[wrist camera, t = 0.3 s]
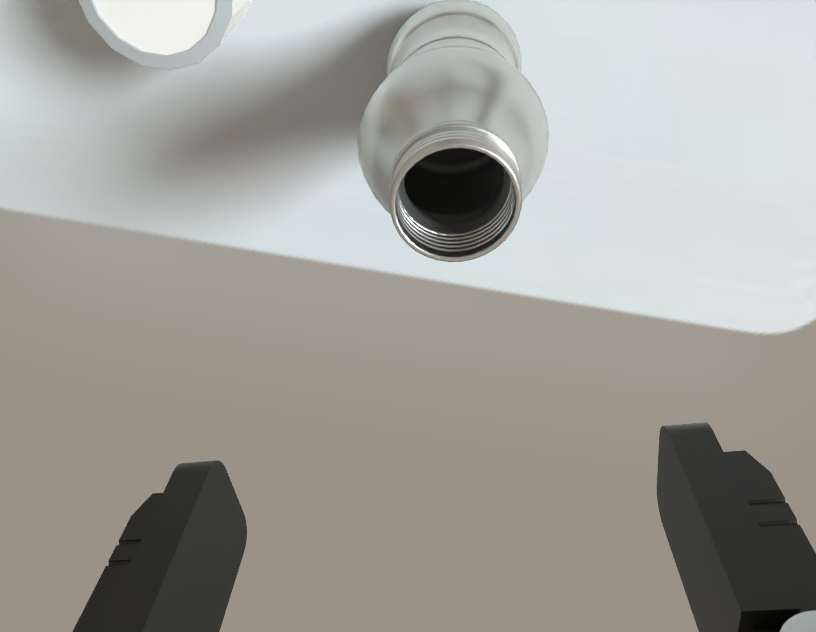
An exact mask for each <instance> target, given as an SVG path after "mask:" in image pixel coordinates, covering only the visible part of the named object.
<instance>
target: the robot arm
mask: <svg viewBox="0 0 816 632" xmlns="http://www.w3.org/2000/svg"><path fill="white" fill-rule="evenodd" d="M657 499H658V506H659V512H660V517H661V520H662V524H663V527H664V530H665V533H666V536H667V539H668V542H669V545H670V548H671V551H672V553H673V557H674V559H675V562H676V565H677V568H678V571H679V574H680V577H681V580H682V583H683V586H684V589H685V592H686V595H687V597H688V601H689V604H690V606H691V610H692V613H693V615H694V618H695V621H696V624H697V627H698V630H699V632H816V553H815V551H814V550H813V548H812V546H811V544H810V542H809V541H808V539H807V537H806V535H805V533H804V532H803V530H802V528H801V526H800V525H798V524H797V520H796V517H795V515H794V514H793V512H792V510H791V508H790V507H789V505H788V503H785V497H784V496H783V494H782V492H781V490H780V489H779V487H778V485H777V483H776V481H775V480H774V478H773V476H772V474H771V473H770V471H769V470H767V469H766V468H765V467H764V466H762V465H761V464H760V463H759V462H758V461H757V460H755V459H754V458H753V457H752V456H751V455H749V454H748V453H747V452H746V451H732V452H723V450H722V448H721V446H720V444H719V442H718V440H717V438H716V436H715V434H714V432H713V430H712V428H711V427H710V425H709V424H708V423H694V424H682V425H671V426H662V427H661V429H660V437H659V456H658V475H657ZM246 538H247V527H246V520H245V516H244V513H243V510H242V508H241V505H240V503H239V500H238V498H237V496H236V493H235V491H234V488H233V486H232V483H231V481H230V478H229V476H228V473H227V471H226V468H225V466H224V465H223V463H221V462H220V461H206V462H194V463H183V464H179V465H178V466H177V467H176V468H175V470H174V471H173V473H172V476H171V478H170V480H169V482H168V484H167V486H166V488H165V491H164V493H155V494H152V495H151V496H150V497H149V498H148V499H147V500H146V501H145V502H144V503H143V504H142V505H141V507H139V509H138V510H137V511H136V512H135V513H134V514H133V515H132V516H131V518H130V520H129V522H128V524H127V526H126V528H125V530H124V532H123V534H122V535H121V538H120V540H119V545H117V546H116V547H115V550H114V551H113V553H112V555H111V557H110V559H109V565H108V566H106V567H105V569H104V571H103V573H102V575H101V577H100V579H99V581H98V583H97V585H96V587H95V589H94V591H93V593H92V595H91V597H90V599H89V601H88V602H87V604H86V607H85V609H84V610H83V613H82V614H81V616H80V618H79V620H78V622H77V624H76V626H75V628H74V630H73V632H219V631H220V628H221V624H222V621H223V618H224V615H225V611H226V608H227V605H228V601H229V598H230V595H231V592H232V589H233V586H234V582H235V579H236V576H237V572H238V569H239V566H240V563H241V560H242V556H243V553H244V550H245V546H246Z"/></svg>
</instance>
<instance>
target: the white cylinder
mask: <svg viewBox="0 0 816 632" xmlns="http://www.w3.org/2000/svg"><path fill="white" fill-rule="evenodd" d="M78 1H79V3H80V5H81V7H82V10H83V12H84V14H85V16H86V19H87V21H88V22H89V24H90V25H91V26H92V27H93V28H94V29H95V30H96V31H97V33H98V34H99V35H100V36H101V37H102V38H103V39H104V41H105V42H106V43H107V44H108V45H109V46H110V47H111V48H112V49H113V50H115V51H117V52H118V53H120V54H122V55H123V56H125V57H127V58H129V59H130V60H132V61H134V62H135V63H137V64H139V65H141V66H147V67H152V68H158V69H164V70H170V71H171V70H175V69H179V68H183V67H187V66H191V65H194V64H198V63H199V62H200V61H202V60H203V59H204V58H205V57H206V56H207V55H209V54H210V53H211V52H212V51H213V50H214V49H216V48H217V47H218V46H219V45H220V44H221V43H222V42H223V40H224V39H225V38H226V37H227V36H228V35H229V33H230V32H231V31H232V30H233V29H234V28H235V26H236V25H237V24H238V23H239V22H240V21H241V20H242V18H243V17H244V16H245V15H246V14H247V13H248V11H249V9H250V6H251V4H252V2H253V0H78Z"/></svg>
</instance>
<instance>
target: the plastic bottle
mask: <svg viewBox="0 0 816 632" xmlns="http://www.w3.org/2000/svg"><path fill="white" fill-rule="evenodd" d="M521 62H522V60H521V53H520V47H519V44H518V41H517V39H516V36H515V34H514V32H513V30H512V29H511V27H510V26H509V24H508V23H507V22H506V21H505V20H504V19H503V18H502V17H501V16H500V15H499V13H497V12H496V11H494V10H493V9H491V8H489V7H488V6H486V5H483V4H481V3H478V2H476V1H471V0H443V1H440V2H436V3H432V4H430V5H428V6H426V7H424V8H422V9H420V10H419V11H418V12H416V13H415V14H414V15H413V16H411V17H410V18H409V19H408V20H407V21H406V22H405V23H404V25H403V26H402V27H401V28H400V29H399V31H398V33H397V34H396V36H395V38H394V40H393V42H392V44H391V47H390V50H389V53H388V59H387V66H386V71H387V78H386V79H385V80H384V81H383V82H382V83H381V84H380V86H379V87H378V88H377V90H376V91H375V93H374V94H373V96H372V98H371V99H370V101H369V103H368V104H367V106H366V109H365V111H364V114H363V117H362V120H361V123H360V128H359V136H358V153H359V161H360V165H361V168H362V172H363V175H364V177H365V179H366V181H367V183H368V185H369V187H370V189H371V191H372V193H373V194H374V196H375V198H376V199H377V200H378V201H379V202H380V204H381V205H382V206H383V207H384V209H385V210H386V211H388V212H389V213H390V214H391V216H392V220H393V223H394V225H395V227H396V229H397V231H398V233H399V235H400V236H401V237H402V239H403V240H404V241H405V242H406V243H407V244H408V245H409V246H410V247H411V248H413V249H414V250H415V251H417V252H419V253H420V254H422V255H424V256H426V257H429V258H432V259H435V260H439V261H446V262H462V261H467V260H472V259H475V258H478V257H481V256H483V255H486V254H487V253H489V252H491V251H492V250H494V249H496V248H497V247H498V246H499V245H500V244H501V243H503V242H504V241H505V240H506V239H507V237H508V236H509V235H510V233H511V232H512V231H513V229H514V227H515V225H516V223H517V221H518V218H519V215H520V211H521V207H522V202H523V201H524V199H525V198H526V197H527V196H528V194H529V193H530V192H531V190H532V189H533V187H534V185H535V183H536V181H537V179H538V177H539V175H540V174H541V172H542V170H543V166H544V163H545V159H546V156H547V152H548V140H549V131H548V123H547V116H546V113H545V111H544V108H543V105H542V102H541V100H540V98H539V96H538V95H537V93H536V92H535V90H534V88H533V87H532V85H531V84H530V82H529V81H528V80H527V78H526V77H525V76H524V75H523V74H522V73H521Z"/></svg>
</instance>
